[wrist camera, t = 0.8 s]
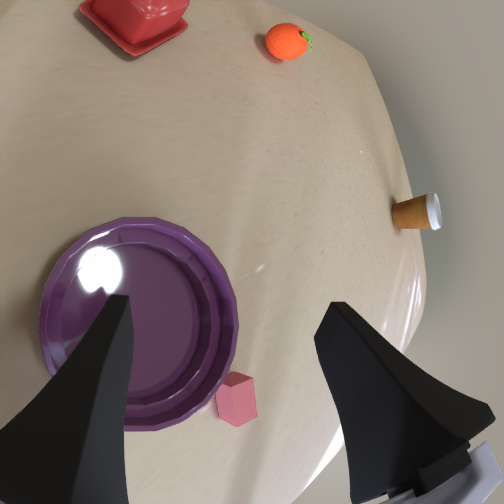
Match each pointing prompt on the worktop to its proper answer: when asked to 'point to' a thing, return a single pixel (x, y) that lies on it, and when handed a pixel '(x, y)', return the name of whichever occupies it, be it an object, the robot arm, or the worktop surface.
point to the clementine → (287, 41)
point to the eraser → (236, 399)
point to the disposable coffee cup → (418, 213)
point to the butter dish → (137, 21)
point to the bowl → (147, 313)
